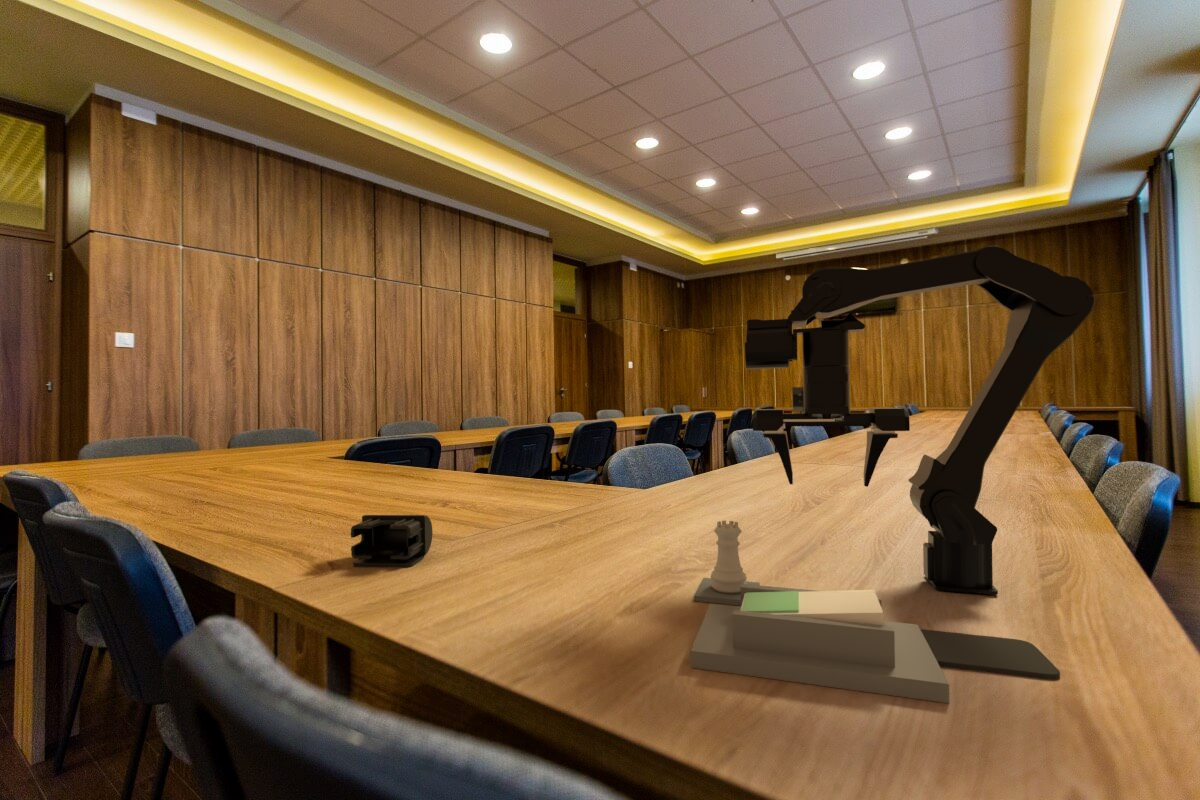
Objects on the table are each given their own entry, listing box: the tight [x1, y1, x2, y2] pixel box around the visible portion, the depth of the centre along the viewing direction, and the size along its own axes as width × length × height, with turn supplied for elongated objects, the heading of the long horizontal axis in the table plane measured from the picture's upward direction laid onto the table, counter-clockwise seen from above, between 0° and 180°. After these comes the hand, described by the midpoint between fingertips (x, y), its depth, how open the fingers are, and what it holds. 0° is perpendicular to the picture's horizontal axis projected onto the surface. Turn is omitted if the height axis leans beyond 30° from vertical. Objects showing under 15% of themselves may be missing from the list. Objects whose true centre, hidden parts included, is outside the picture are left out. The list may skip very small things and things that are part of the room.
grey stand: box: [690, 584, 950, 704], centre depth 53 cm, size 20×12×4 cm, turn 71°
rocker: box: [740, 589, 886, 626], centre depth 53 cm, size 12×6×2 cm, turn 71°
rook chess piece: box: [710, 520, 748, 594], centre depth 69 cm, size 4×4×8 cm
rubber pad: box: [693, 577, 761, 607], centre depth 69 cm, size 7×7×1 cm
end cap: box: [350, 514, 433, 569], centre depth 86 cm, size 10×7×7 cm
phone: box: [920, 628, 1061, 681], centre depth 53 cm, size 7×1×15 cm
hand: (827, 485), depth 76 cm, fingers open, 9 cm apart
